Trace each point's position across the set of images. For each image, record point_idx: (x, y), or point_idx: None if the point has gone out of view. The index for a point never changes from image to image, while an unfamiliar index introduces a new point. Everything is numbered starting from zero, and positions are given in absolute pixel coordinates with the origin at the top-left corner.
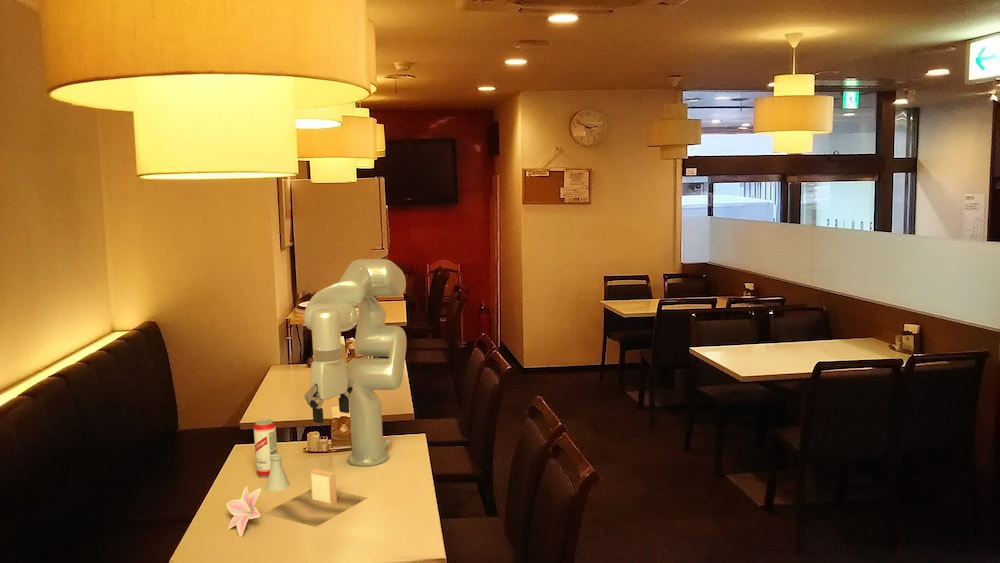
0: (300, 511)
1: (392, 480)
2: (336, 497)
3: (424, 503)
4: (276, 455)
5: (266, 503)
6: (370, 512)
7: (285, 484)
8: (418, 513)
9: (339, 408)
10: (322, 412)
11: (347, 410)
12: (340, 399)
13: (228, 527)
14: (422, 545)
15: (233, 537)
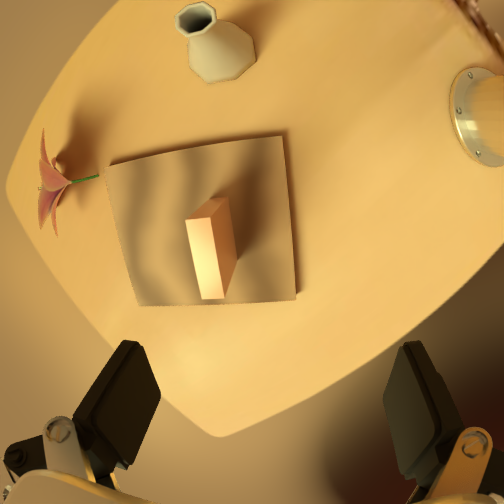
0: (154, 228)
1: (418, 256)
2: (235, 265)
3: (340, 372)
4: (207, 9)
5: (154, 99)
6: (259, 329)
7: (223, 70)
8: (300, 386)
9: (406, 363)
10: (134, 446)
11: (388, 410)
12: (424, 439)
13: (55, 157)
14: (221, 426)
15: None
